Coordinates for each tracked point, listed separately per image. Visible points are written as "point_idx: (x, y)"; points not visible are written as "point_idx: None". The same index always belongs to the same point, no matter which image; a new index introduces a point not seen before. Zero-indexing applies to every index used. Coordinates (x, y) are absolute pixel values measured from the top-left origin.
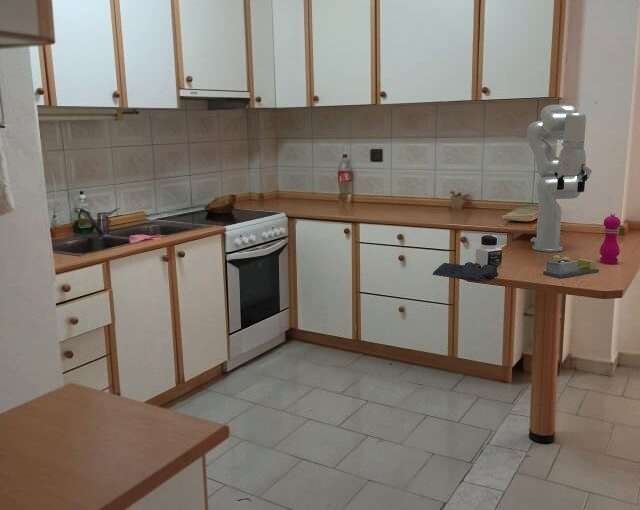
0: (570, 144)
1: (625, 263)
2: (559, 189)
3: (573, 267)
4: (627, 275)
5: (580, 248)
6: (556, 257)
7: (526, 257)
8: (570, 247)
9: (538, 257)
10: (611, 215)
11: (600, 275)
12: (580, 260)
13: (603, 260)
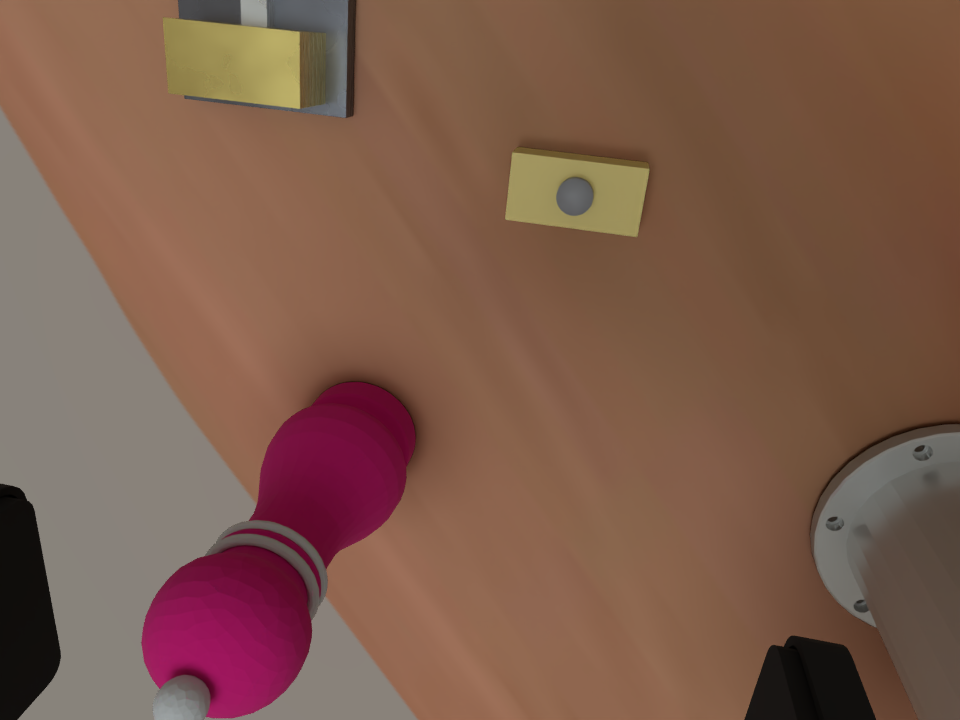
0: None
1: None
2: (763, 675)
3: None
4: (48, 169)
5: None
6: (611, 164)
7: (916, 104)
8: None
9: (826, 196)
10: (182, 677)
11: (116, 4)
12: (269, 28)
13: (357, 390)
